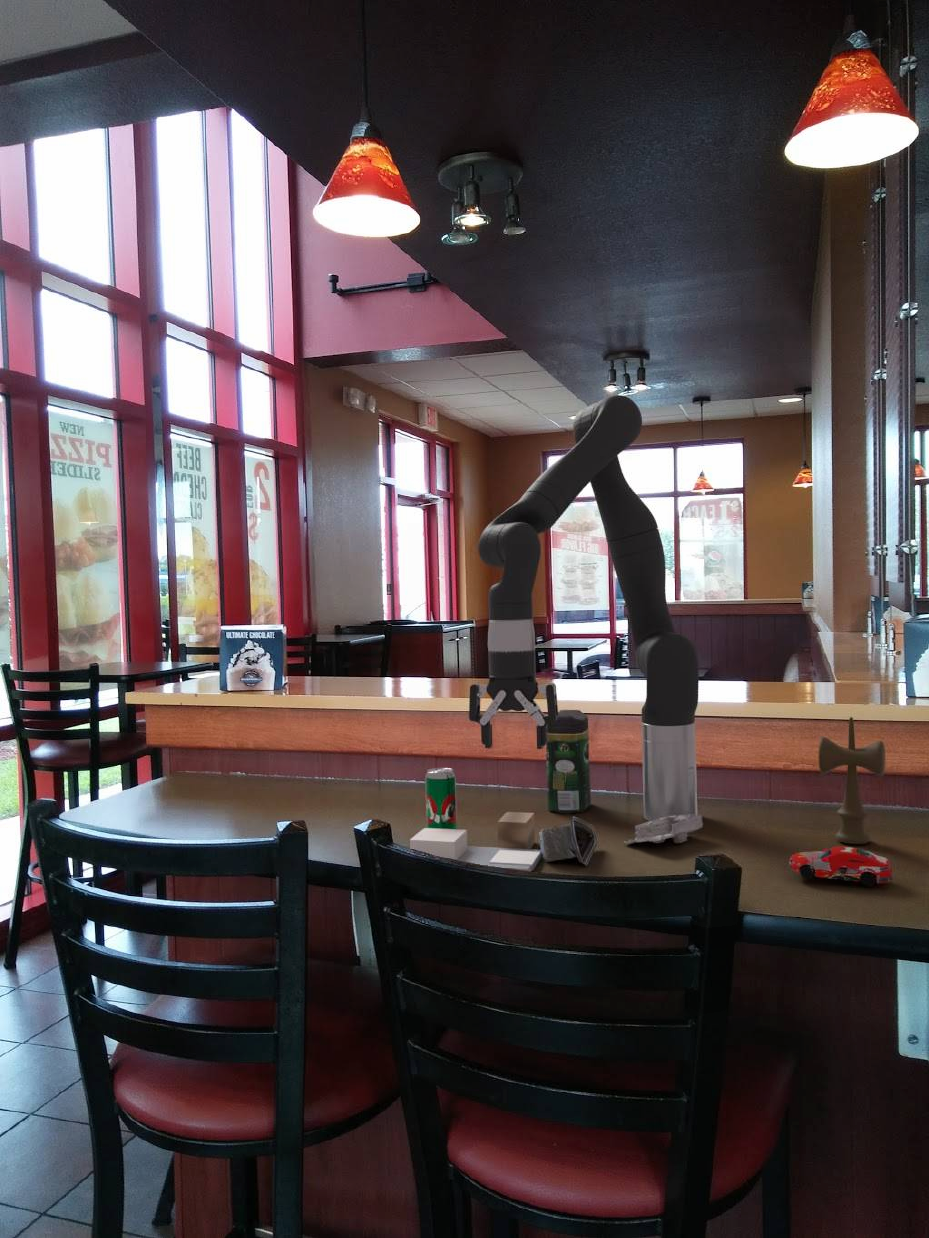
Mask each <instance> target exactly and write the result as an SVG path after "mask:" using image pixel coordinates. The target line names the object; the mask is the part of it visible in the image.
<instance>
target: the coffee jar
mask: <svg viewBox="0 0 929 1238" xmlns="http://www.w3.org/2000/svg"><path fill="white" fill-rule="evenodd" d="M589 736H590V734H589V717H588V716H587V715H586V714H585V713H583V712H582V711H581V710H580V709H560V710H558V719H557V720H555V721H554V722H551V723H548V725H547V740H548V741H547V744H546V745H545V755H546V760H545V761H546V800H547V801H546V804H547V809H548V810H549V811H551V812H557V813H558V814H572V813H583V812H585V811H586V810H588V808H589V807H590V806H591V804H592V801H591V800H592V795H591V794H592V793H591V775H590V773H591V771H590V770H591V769H590V749H589V748H590V746H589V745H590V744H589V743H590V742H589V741H590V740H589V739H590V738H589Z"/></svg>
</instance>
